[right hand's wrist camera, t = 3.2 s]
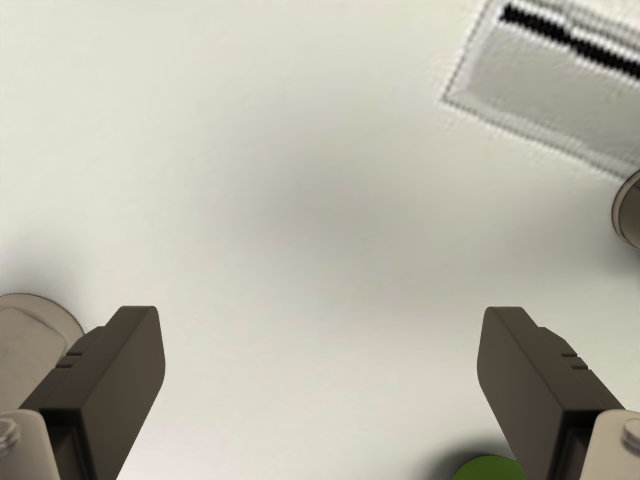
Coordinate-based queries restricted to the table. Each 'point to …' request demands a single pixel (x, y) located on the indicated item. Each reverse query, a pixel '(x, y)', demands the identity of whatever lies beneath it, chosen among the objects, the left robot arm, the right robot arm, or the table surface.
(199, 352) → the table surface
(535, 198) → the table surface
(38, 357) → the bust sculpture
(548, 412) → the right robot arm
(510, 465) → the vase
